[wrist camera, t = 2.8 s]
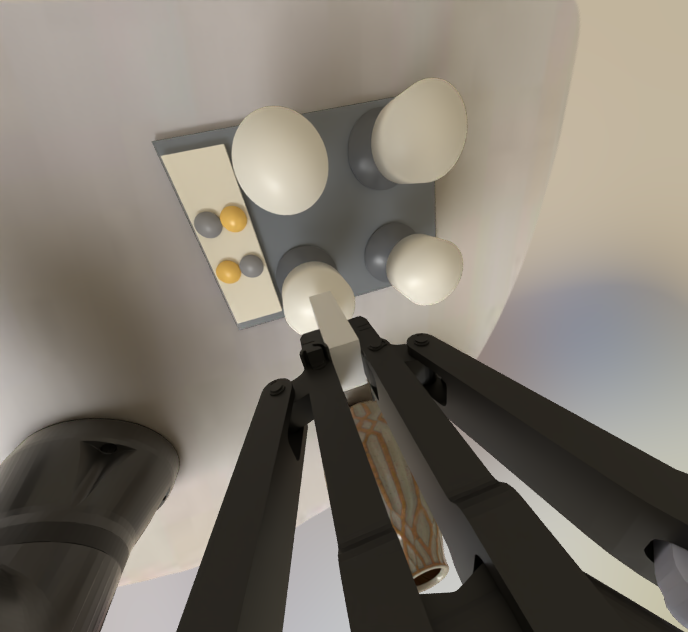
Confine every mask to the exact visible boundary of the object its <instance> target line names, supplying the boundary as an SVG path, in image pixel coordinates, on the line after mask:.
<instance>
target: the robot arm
mask: <svg viewBox="0 0 688 632" xmlns="http://www.w3.org/2000/svg"><path fill="white" fill-rule="evenodd" d="M309 300H310V303H311V307H312V310H313V314H314V317H315V321H316V324H317V328H318V330H314V331H311V332H308V333H304V334H303V335H302V337H301V339H300V341H301V346H302V350H301V351H300V358H301V360H302V363H303V366H304V371H303V373H302V374H301V375H300V376H299V377H298V378H296V379H294V380H293V381H290V380H288V379H285V378H284V379H277V380H274V381H272V382H270V383H269V384H268V385H267V386H266V387H265V388H264V389H263V391H262V393H261V396H260V399H259V402H258V405H257V407H256V410H255V413H254V416H253V419H252V421H251V424H250V427H249V430H248V433H247V435H246V438H245V441H244V444H243V447H242V449H241V452H240V455H239V458H238V461H237V463H236V466H235V469H234V472H233V475H232V477H231V480H230V483H229V486H228V489H227V491H226V494H225V497H224V500H223V503H222V505H221V508H220V511H219V514H218V517H217V519H216V522H215V525H214V528H213V531H212V533H211V536H210V539H209V542H208V544H207V547H206V550H205V553H204V556H203V558H202V561H201V564H200V567H199V570H198V572H197V575H196V578H195V581H194V584H193V586H192V589H191V592H190V595H189V598H188V601H187V604H186V606H185V609H184V612H183V614H182V617H181V620H180V623H179V626H178V628H177V631H176V632H282V630H283V622H284V614H285V605H286V598H287V590H288V582H289V574H290V566H291V558H292V550H293V542H294V533H295V526H296V518H297V510H298V502H299V494H300V486H301V478H302V470H303V462H304V454H305V446H306V438H307V430H308V425H307V424H308V423H309V422H311V421H312V420H314V421H315V426H316V432H317V437H318V442H319V447H320V453H321V458H322V463H323V468H324V474H325V479H326V484H327V489H328V494H329V500H330V505H331V510H332V515H333V521H334V526H335V531H336V536H337V541H338V549H339V550H338V561H339V568H340V574H341V580H342V585H343V591H344V596H345V602H346V607H347V613H348V618H349V623H350V629H351V632H684V631H682V630H680V629H678V628H677V627H675V626H674V625H672V624H670V623H669V622H667V621H665V620H664V619H662V618H660V617H658V616H657V615H655V614H654V613H652V612H650V611H649V610H647V609H645V608H644V607H642V606H640V605H638V604H637V603H635V602H634V601H632V600H630V599H629V598H627V597H625V596H623V595H622V594H620V593H618V592H617V591H615V590H613V589H612V588H610V587H608V586H607V585H605V584H603V583H602V582H600V581H598V580H597V579H595V578H593V577H592V576H590V575H588V574H587V573H585V572H583V571H582V570H581V569H580V568H579V566H578V565H577V564H576V563H575V562H574V560H573V559H572V558H571V557H570V555H569V554H568V553H567V552H566V550H565V549H564V548H563V547H562V546H561V544H560V543H559V542H558V541H557V539H556V538H555V537H554V536H553V535H552V533H551V532H550V531H549V530H548V529H547V527H546V526H545V525H544V523H543V522H542V521H541V520H540V519H539V517H538V516H537V515H536V514H535V513H534V511H533V510H532V509H531V508H530V506H529V505H528V504H527V503H526V501H525V500H524V499H523V498H522V497H521V496H520V495H519V493H518V492H517V491H516V490H515V489H514V488H513V487H511V486H510V485H508V484H507V483H504V482H499V481H497V480H496V479H495V478H494V477H493V476H492V475H491V473H490V472H489V471H488V470H487V468H486V467H485V466H484V465H483V463H482V462H481V461H480V459H479V458H478V457H477V455H476V454H475V453H474V452H473V450H472V449H471V448H470V446H469V445H468V444H467V442H466V441H465V440H464V439H463V437H462V436H461V435H460V433H459V432H458V431H457V430H456V428H455V427H454V426H453V424H452V423H451V422H450V421H452V422H453V423H454V424H455V425H456V426H458V427H459V428H460V429H461V430H462V431H464V432H465V433H466V434H467V435H468V436H469V437H471V438H472V439H473V440H474V441H475V442H477V443H478V444H479V445H480V446H481V447H483V448H484V449H485V450H486V451H487V452H488V453H490V454H491V455H492V456H493V457H494V458H495V459H497V460H498V461H499V462H500V463H501V464H503V465H504V466H505V467H506V468H507V469H508V470H510V471H511V472H512V473H513V474H514V475H516V476H517V477H518V478H519V479H520V480H521V481H523V482H524V483H525V484H526V485H527V486H529V487H530V488H531V489H532V490H533V491H534V492H536V493H537V494H538V495H539V496H540V497H542V498H543V499H544V500H545V501H546V502H547V503H549V504H550V505H551V506H552V507H553V508H555V509H556V510H557V511H558V512H559V513H560V514H562V515H563V516H564V517H565V518H566V519H568V520H569V521H570V522H571V523H572V524H574V525H575V526H576V527H577V528H578V529H580V530H581V531H582V532H583V533H584V534H585V535H587V536H588V537H589V538H590V539H592V540H593V541H594V542H595V543H597V544H598V545H599V546H601V547H602V548H603V549H604V550H605V551H607V552H608V553H609V554H611V555H612V556H613V557H615V558H616V559H618V560H619V561H621V562H622V563H623V564H625V565H627V566H628V567H629V568H631V569H632V570H633V571H635V572H636V573H638V574H639V575H641V576H642V577H644V578H646V579H647V580H649V581H650V582H652V583H654V584H655V585H657V586H658V587H659V588H660V590H661V592H662V594H663V596H664V600H665V604H666V607H667V608H668V610H669V611H670V613H671V614H672V616H673V617H674V618H675V619H676V620H677V621H678V622H679V623H681V624H682V625H683V626H684V627H686V628H687V629H688V474H687V473H684V472H681V471H679V470H676V469H674V468H672V467H670V466H669V465H667V464H665V463H663V462H661V461H660V460H658V459H656V458H654V457H652V456H650V455H649V454H647V453H645V452H643V451H641V450H639V449H638V448H636V447H634V446H632V445H630V444H629V443H626V442H625V441H623V440H621V439H619V438H618V437H616V436H614V435H612V434H610V433H608V432H607V431H605V430H603V429H601V428H599V427H598V426H596V425H594V424H592V423H590V422H588V421H587V420H584V419H583V418H581V417H579V416H578V415H576V414H574V413H572V412H570V411H568V410H567V409H565V408H563V407H561V406H559V405H558V404H556V403H554V402H552V401H550V400H548V399H547V398H544V397H543V396H541V395H539V394H537V393H536V392H534V391H532V390H530V389H528V388H526V387H525V386H523V385H521V384H519V383H517V382H516V381H514V380H512V379H510V378H508V377H506V376H505V375H503V374H501V373H499V372H497V371H496V370H494V369H492V368H490V367H488V366H486V365H484V364H483V363H481V362H479V361H477V360H476V359H474V358H472V357H470V356H468V355H466V354H465V353H463V352H461V351H459V350H457V349H455V348H454V347H452V346H450V345H448V344H446V343H445V342H443V341H441V340H439V339H437V338H435V337H434V336H432V335H429V334H423V333H420V334H415V335H412V336H410V337H409V338H408V340H407V344H402V345H391V344H390V343H389V342H388V341H387V340H385V339H382V338H380V337H379V335H378V334H377V333H376V331H375V330H374V329H373V328H372V326H371V325H370V324H369V322H368V321H367V319H365V318H363V317H361V316H359V317H355V318H352V319H349V320H347V319H346V317H345V315H344V314H343V312H342V310H341V308H340V307H339V305H338V303H337V302H336V300H335V298H334V297H333V295H332V293H331V291H327V292H324V293H320V294H317V295H313V296H310V297H309ZM366 377H367V378H366ZM367 379H368V381H369V383H370V388H371V394H372V399H373V402H374V401H375V400H376V402H377V404H378V406H379V408H380V410H381V412H382V414H383V416H384V418H385V420H386V422H387V424H388V426H389V428H390V430H391V432H392V434H393V436H394V438H395V440H396V442H397V444H398V446H399V448H400V450H401V452H402V454H403V456H404V458H405V460H406V463H407V465H408V467H409V469H410V471H411V473H412V475H413V477H414V479H415V481H416V483H417V485H418V487H419V489H420V491H421V493H422V495H423V497H424V499H425V501H426V503H427V505H428V507H429V509H430V511H431V513H432V515H433V517H434V519H435V521H436V523H437V525H438V527H439V529H440V531H441V533H442V535H443V537H444V539H445V541H446V543H447V546H448V548H449V550H450V553H451V556H452V560H453V563H454V566H455V568H456V571H457V573H458V575H459V577H460V580H461V582H462V584H463V585H462V586H461V587H460V588H459V589H458V590H457V591H455V592H450V593H433V594H419V592H418V589H417V587H416V584H415V581H414V579H413V576H412V573H411V570H410V568H409V565H408V562H407V560H406V557H405V554H404V551H403V549H402V546H401V544H400V541H399V538H398V536H397V534H396V531H395V529H394V528H393V526H392V523H391V521H390V518H389V515H388V513H387V510H386V507H385V504H384V502H383V499H382V496H381V494H380V491H379V488H378V485H377V483H376V480H375V477H374V474H373V472H372V469H371V466H370V463H369V461H368V458H367V455H366V452H365V450H364V447H363V444H362V441H361V439H360V436H359V433H358V430H357V428H356V425H355V422H354V419H353V417H352V414H351V411H350V408H349V406H348V403H347V400H346V397H345V395H344V391H347V390H350V389H353V388H356V387H359V386H362V385H365V384H368V383H367ZM449 420H450V421H449ZM178 470H179V458H178V455H177V452H176V451H175V449H174V447H173V446H172V445H171V444H170V443H169V442H168V441H167V440H166V439H165V438H164V437H162V436H161V435H159V434H158V433H156V432H154V431H152V430H150V429H148V428H146V427H143V426H140V425H137V424H134V423H130V422H125V421H119V420H111V419H82V420H74V421H68V422H63V423H59V424H56V425H52V426H50V427H47V428H44V429H42V430H40V431H38V432H36V433H34V434H32V435H31V436H29V437H28V438H27V439H25V440H24V441H23V442H22V443H21V444H20V445H19V446H18V447H17V448H16V449H15V450H14V451H13V452H12V453H11V454H10V455H9V456H8V457H7V458H6V459H5V460H4V461H3V462H2V463H1V465H0V632H100V631H101V629H102V626H103V623H104V620H105V618H106V615H107V613H108V610H109V607H110V604H111V602H112V599H113V596H114V594H115V591H116V588H117V586H118V583H119V580H120V578H121V575H122V572H123V570H124V567H125V565H126V562H127V560H128V557H129V555H130V552H131V550H132V548H133V547H134V545H135V544H136V542H137V541H138V540H139V538H140V537H141V535H142V534H143V532H144V531H145V529H146V527H147V526H148V524H149V523H150V521H151V519H152V517H153V516H154V514H155V512H156V510H158V509H159V508H160V507H161V506H162V505H163V503H164V502H165V501H166V499H167V498H168V496H169V494H170V492H171V490H172V488H173V485H174V482H175V479H176V476H177V473H178Z"/></svg>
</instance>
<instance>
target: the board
mask: <svg viewBox="0 0 688 632" xmlns="http://www.w3.org/2000/svg"><path fill="white" fill-rule="evenodd" d="M394 98H396V97H392V98H386V99H381V100H375V101H370V102H365V103H359V104H354V105H348V106H343V107H337V108H332V109H326V110H321V111H315V112H310V113H305V114H301V115H302V116H303V117H305V118H306V119H307V120H308V121H309V122H310V123H311V124H312V125H313V126H314V127H315V129H316V130H317V132H318V133H319V135H320V137H321V139H322V141H323V143H324V146H325V148H326V152H327V157H328V178H327V182H326V185H325V188H324V190H323V192H322V194H321V196H320V197H319V199H318V200H317V201H316V202H315V203H314V204H313V205H312V206H311V207H310V208H308V209H307V210H305V211H303V212H301V213H297V214H293V215H279V214H275V213H271V212H269V211H266V210H264V209H263V208H261V207H259V206H258V205H257V204H255V203H254V202H253V201H252V200H251V199H250V198H249V197H248V196H247V195H246V194H245V192H244V191H243V189H242V188H241V186H240V184H239V182H238V180H237V178H236V175H235V172H234V169H233V163H232V144H233V139H234V136H235V133H236V131H237V129H238V127H239V126H234V127H228V128H223V129H217V130H212V131H207V132H201V133H196V134H190V135H185V136H179V137H174V138H168V139H163V140H158V141H152V143H153V145H154V148H155V150H156V152H157V154H158V156H159V158H160V161H161V163H162V165H163V167H164V169H165V171H166V174H167V176H168V178H169V180H170V182H171V184H172V187H173V189H174V191H175V193H176V195H177V197H178V200H179V202H180V204H181V206H182V208H183V210H184V213H185V215H186V217H187V219H188V221H189V223H190V226H191V228H192V230H193V232H194V234H195V236H196V239H197V241H198V243H199V245H200V247H201V249H202V252H203V254H204V256H205V258H206V260H207V262H208V264H209V267H210V269H211V271H212V273H213V275H214V277H215V280H216V282H217V284H218V286H219V288H220V290H221V293H222V295H223V297H224V299H225V301H226V303H227V306H228V308H229V310H230V312H231V314H232V316H233V319H234V321H235V323H236V325H237V327H238V329H239V330H242V329H245V328H249V327H252V326H256V325H259V324H263V323H266V322H270V321H273V320H276V319H280V318H283V317H285V315H284V309H283V300H282V286H283V283H284V280H285V278H286V277H287V275H288V274H289V273H290V272H291V271H292V270H293V269H294V268H295V267H297V266H299V265H301V264H303V263H306V262H313V261H316V262H323V263H326V264H328V265H330V266H332V267H333V268H335V269H336V270H337V271H338V272H339V274H340V275H341V276H342V277H343V278H344V280H345V281H346V282H347V283H348V284H349V286H350V287H351V289H352V291H353V293H354V297H355V296H359V295H362V294H366V293H369V292H372V291H376V290H379V289H383V288H386V287H390V286H392V285H391V284H390V282H389V280H388V278H387V273H386V264H387V260H388V257H389V254H390V252H391V251H392V249H393V248H394V246H395V245H396V244H397V243H398V242H399V241H400V240H402V239H403V238H405V237H407V236H409V235H412V234H425V235H429V236H432V237H436V223H435V181H432V182H428V183H414V184H397V183H394V182H391V181H390V180H388V179H387V178H385V177H384V176H383V175H382V174H381V172H380V171H379V170H378V168H377V166H376V164H375V162H374V159H373V155H372V148H371V138H372V131H373V127H374V124H375V121H376V119H377V117H378V115H379V114H380V112H381V110H382V109H383V108H384V107H385V106H386V105H387V104H388V103H389V102H390V101H392V100H393V99H394Z"/></svg>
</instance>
